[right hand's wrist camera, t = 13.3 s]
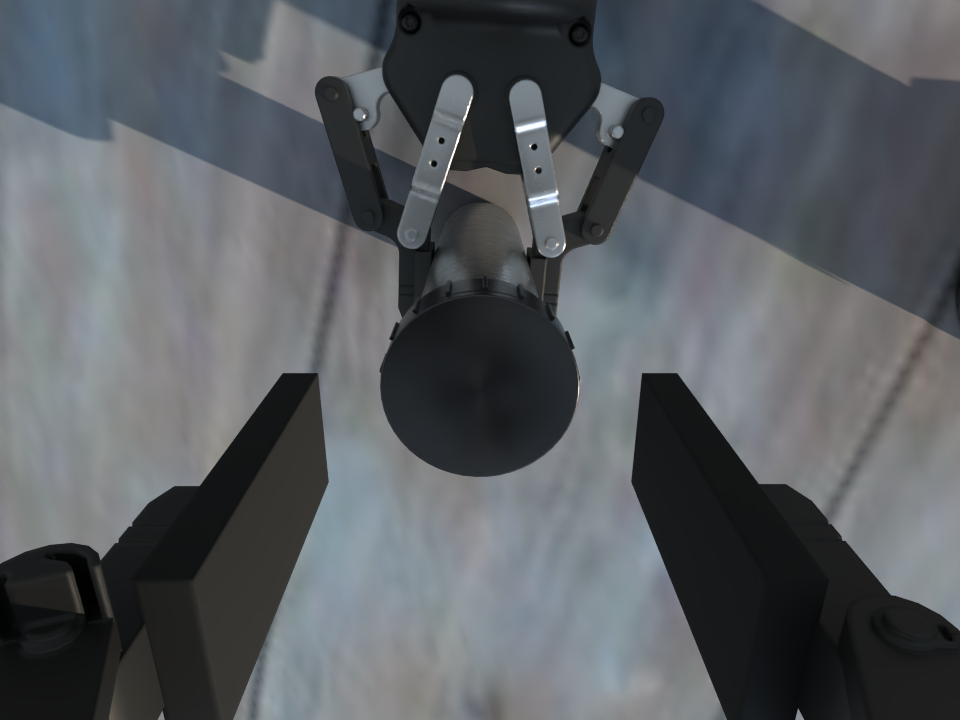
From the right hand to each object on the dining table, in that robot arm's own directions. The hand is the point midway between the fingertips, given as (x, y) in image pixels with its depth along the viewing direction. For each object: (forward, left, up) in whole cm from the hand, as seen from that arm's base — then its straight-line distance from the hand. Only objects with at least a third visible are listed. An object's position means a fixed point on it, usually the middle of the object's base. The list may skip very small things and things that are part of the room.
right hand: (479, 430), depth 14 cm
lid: (0, 0, -2) cm, 2 cm away
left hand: (-1, -3, -15) cm, 15 cm away
